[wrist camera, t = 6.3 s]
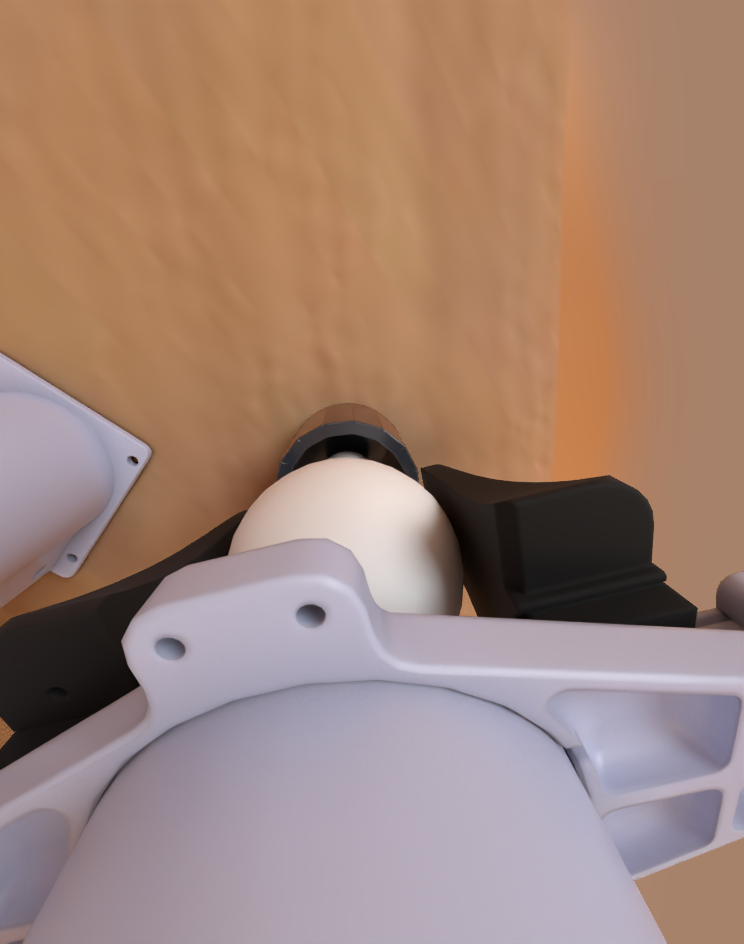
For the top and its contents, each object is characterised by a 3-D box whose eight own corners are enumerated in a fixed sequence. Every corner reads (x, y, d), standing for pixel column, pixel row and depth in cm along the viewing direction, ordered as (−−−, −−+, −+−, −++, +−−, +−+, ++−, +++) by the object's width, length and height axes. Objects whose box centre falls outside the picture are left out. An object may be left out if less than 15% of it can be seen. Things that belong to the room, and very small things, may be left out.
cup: (357, 527, 20) (360, 575, 16) (270, 468, 19) (247, 504, 14) (425, 449, 19) (448, 479, 15) (337, 378, 17) (334, 389, 13)
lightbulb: (435, 474, 17) (565, 668, 7) (344, 548, 18) (339, 810, 8) (351, 378, 15) (356, 449, 5) (256, 467, 17) (103, 671, 6)
